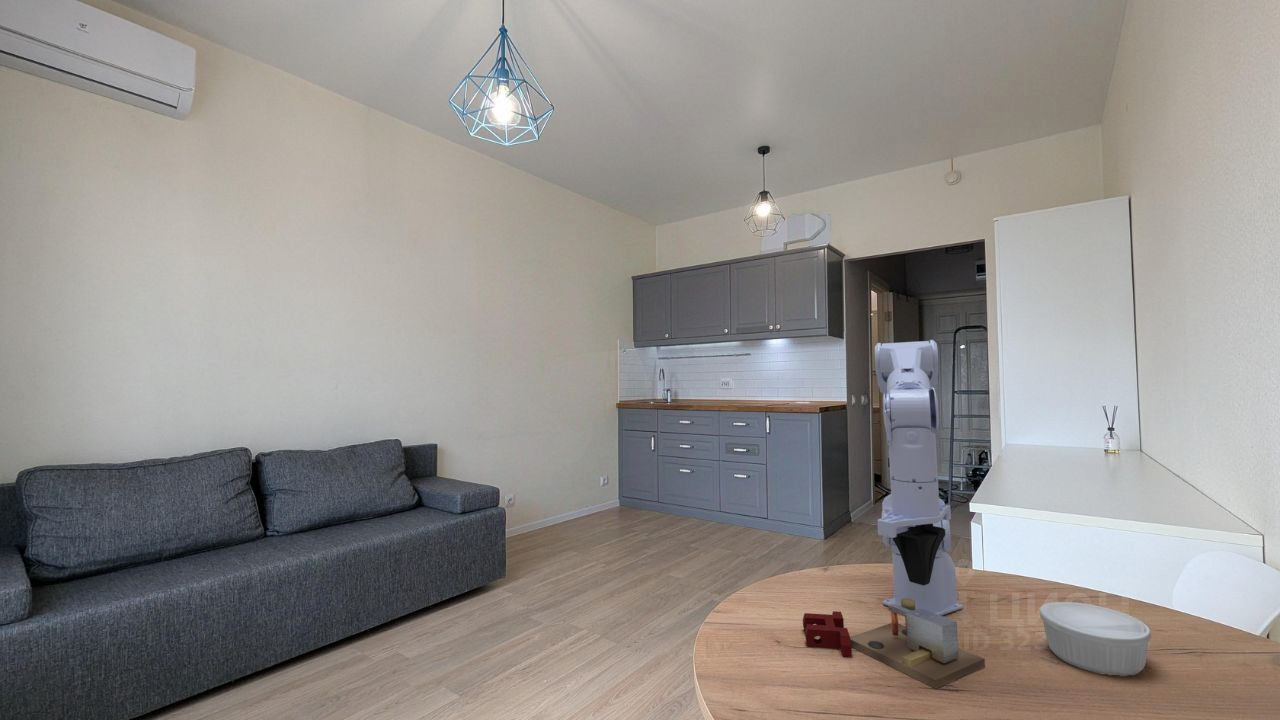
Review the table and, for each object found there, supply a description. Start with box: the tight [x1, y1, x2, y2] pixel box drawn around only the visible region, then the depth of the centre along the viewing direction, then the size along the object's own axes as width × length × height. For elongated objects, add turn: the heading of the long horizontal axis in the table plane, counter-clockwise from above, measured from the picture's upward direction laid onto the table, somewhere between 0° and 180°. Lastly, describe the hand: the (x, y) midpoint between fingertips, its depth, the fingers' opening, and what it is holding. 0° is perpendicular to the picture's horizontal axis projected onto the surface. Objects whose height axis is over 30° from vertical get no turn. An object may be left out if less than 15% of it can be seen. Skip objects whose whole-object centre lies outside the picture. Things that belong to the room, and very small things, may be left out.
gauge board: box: [850, 598, 986, 690], centre depth 73 cm, size 13×10×6 cm
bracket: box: [802, 610, 853, 659], centre depth 78 cm, size 3×6×10 cm
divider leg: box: [888, 604, 959, 663], centre depth 73 cm, size 8×3×4 cm, turn 28°
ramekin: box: [1039, 601, 1152, 677], centre depth 71 cm, size 11×11×5 cm
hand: (919, 582), depth 72 cm, fingers closed
